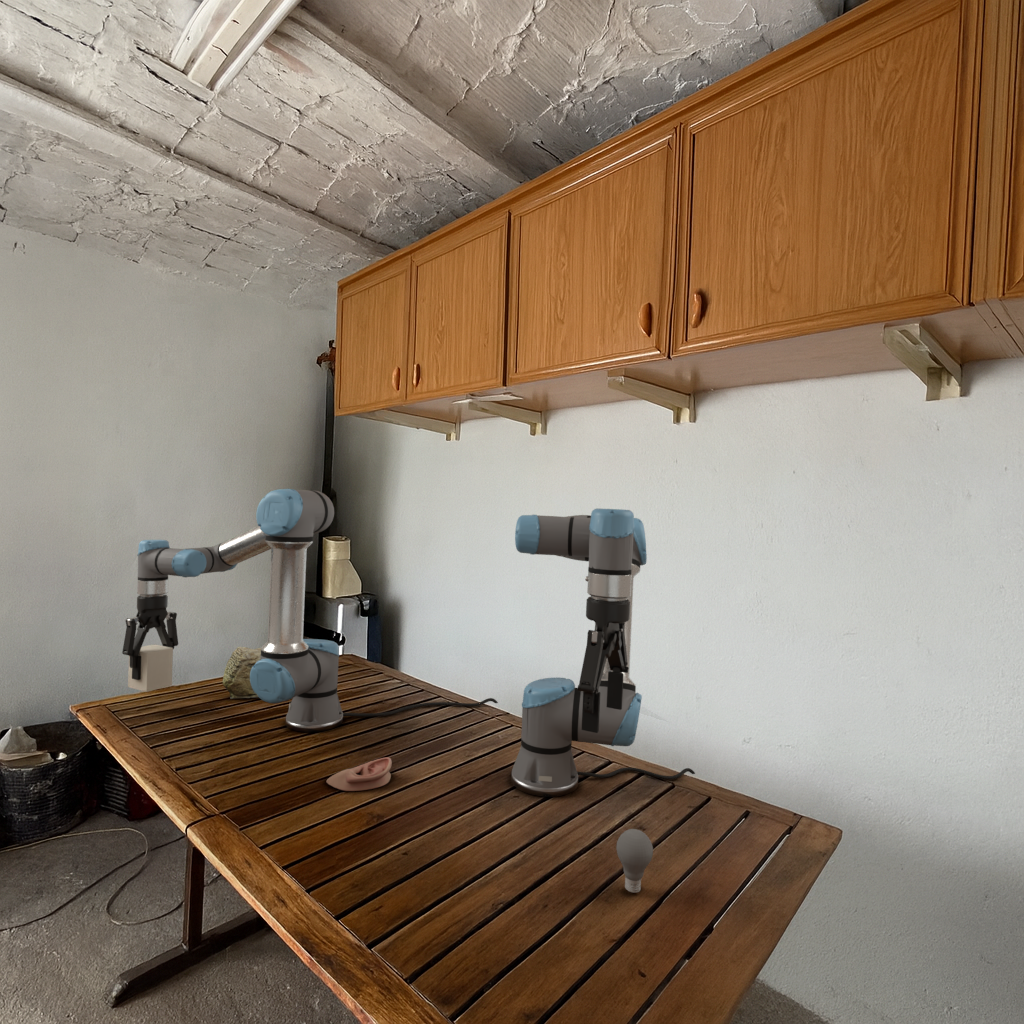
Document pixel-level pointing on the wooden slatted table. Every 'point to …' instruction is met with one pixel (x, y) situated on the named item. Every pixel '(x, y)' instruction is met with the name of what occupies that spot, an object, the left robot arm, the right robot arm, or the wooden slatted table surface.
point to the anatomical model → (363, 776)
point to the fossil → (241, 672)
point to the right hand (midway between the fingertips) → (602, 719)
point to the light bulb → (634, 857)
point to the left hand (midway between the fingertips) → (150, 675)
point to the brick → (153, 668)
